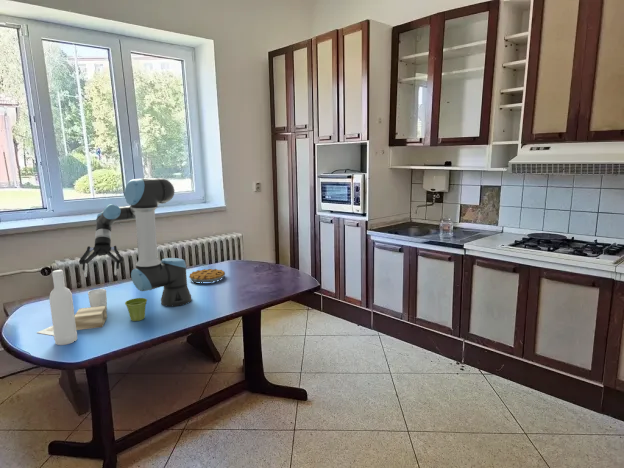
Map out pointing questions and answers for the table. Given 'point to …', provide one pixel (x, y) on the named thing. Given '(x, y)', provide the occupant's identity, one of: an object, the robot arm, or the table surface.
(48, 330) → the page
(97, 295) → the white cup
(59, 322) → the bottle
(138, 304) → the plant pot
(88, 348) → the table surface
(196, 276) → the pie
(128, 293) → the table surface
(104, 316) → the beech block
